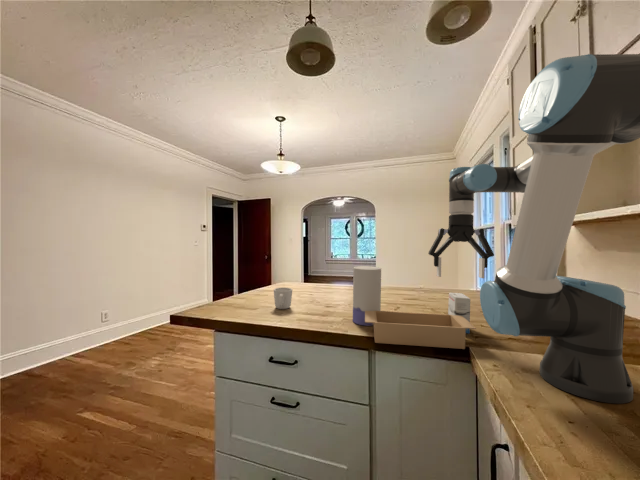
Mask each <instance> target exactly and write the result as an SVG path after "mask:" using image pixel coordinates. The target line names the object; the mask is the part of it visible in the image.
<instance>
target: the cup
mask: <svg viewBox="0 0 640 480" xmlns="http://www.w3.org/2000/svg"><path fill="white" fill-rule="evenodd" d="M273 299H274V307H275V308H277V309H278V310H287V309H289V308H291V305H292V299H293V288H290V287H276V288H274V289H273Z"/></svg>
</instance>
